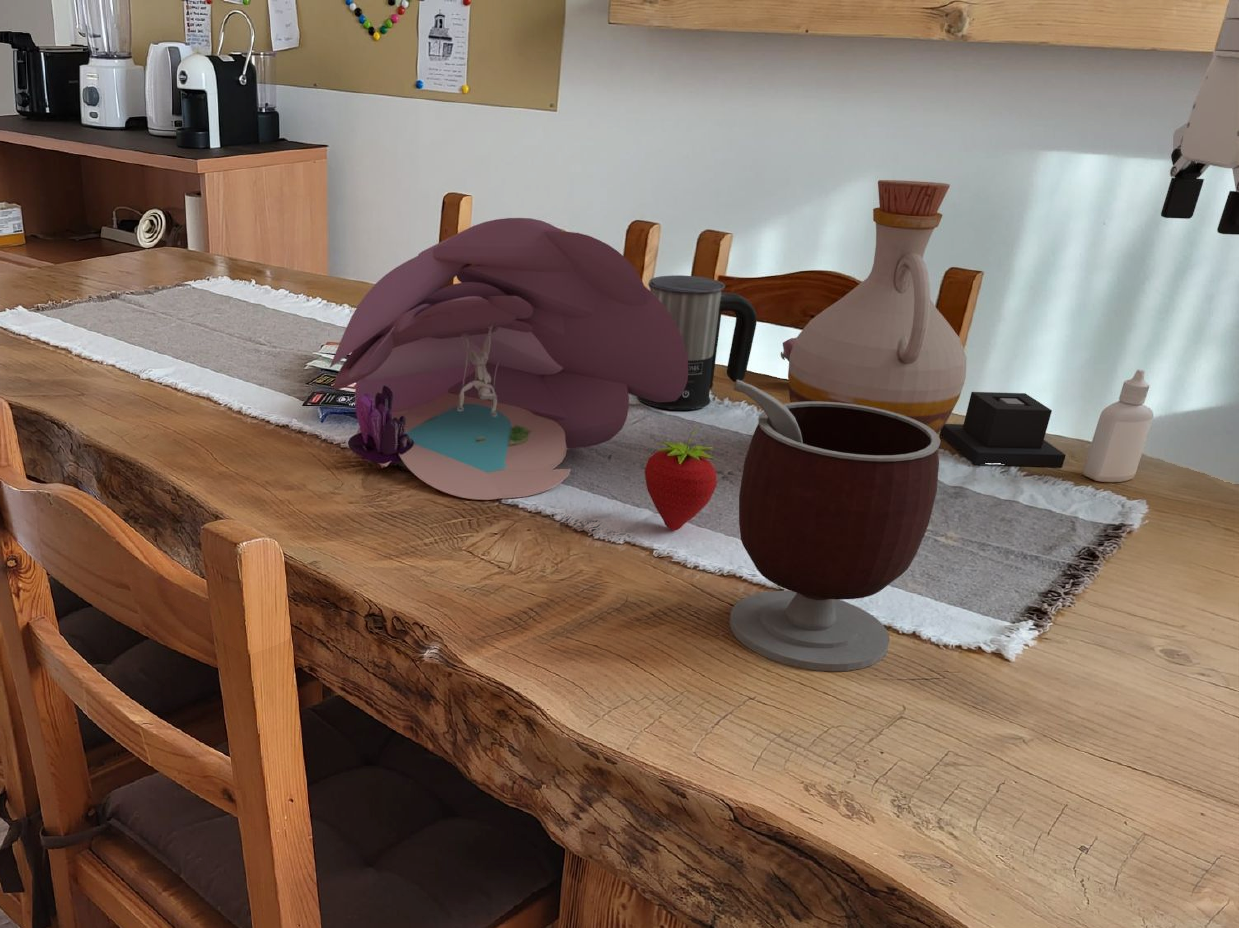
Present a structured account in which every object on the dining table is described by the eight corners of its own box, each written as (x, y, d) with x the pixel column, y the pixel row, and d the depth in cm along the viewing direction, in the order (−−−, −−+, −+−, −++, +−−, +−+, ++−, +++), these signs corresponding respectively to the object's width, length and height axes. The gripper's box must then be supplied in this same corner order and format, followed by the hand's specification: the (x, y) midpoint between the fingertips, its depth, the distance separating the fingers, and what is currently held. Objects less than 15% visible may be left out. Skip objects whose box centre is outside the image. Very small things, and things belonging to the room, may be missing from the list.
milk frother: (661, 415, 142) (676, 292, 136) (594, 379, 155) (605, 265, 148) (755, 404, 148) (774, 285, 141) (683, 370, 161) (698, 260, 154)
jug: (971, 506, 119) (1051, 199, 106) (796, 498, 119) (853, 191, 106) (910, 442, 137) (972, 172, 123) (758, 435, 137) (802, 164, 123)
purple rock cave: (388, 566, 113) (393, 293, 95) (289, 447, 128) (277, 192, 110) (674, 478, 127) (726, 226, 109) (554, 380, 142) (582, 145, 124)
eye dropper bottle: (1141, 487, 126) (1176, 378, 121) (1085, 481, 127) (1118, 373, 122) (1129, 473, 130) (1162, 367, 124) (1075, 467, 131) (1106, 362, 125)
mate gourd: (883, 603, 98) (936, 371, 89) (913, 686, 86) (978, 428, 77) (697, 583, 101) (730, 355, 92) (700, 662, 88) (739, 408, 79)
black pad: (1015, 430, 137) (1025, 393, 135) (1041, 448, 132) (1052, 410, 130) (962, 428, 137) (971, 391, 135) (986, 447, 131) (995, 408, 129)
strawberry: (670, 510, 115) (683, 412, 111) (723, 537, 110) (739, 436, 105) (623, 520, 112) (635, 421, 108) (676, 549, 107) (690, 446, 102)
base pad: (1021, 437, 140) (1034, 389, 137) (1062, 467, 131) (1077, 416, 128) (939, 435, 139) (950, 386, 137) (975, 465, 130) (988, 413, 128)
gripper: (1364, 46, 105) (1295, 242, 113) (1242, 41, 120) (1189, 213, 128) (1283, 43, 105) (1219, 239, 112) (1171, 38, 120) (1122, 211, 128)
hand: (1203, 225), depth 120 cm, fingers open, 9 cm apart
